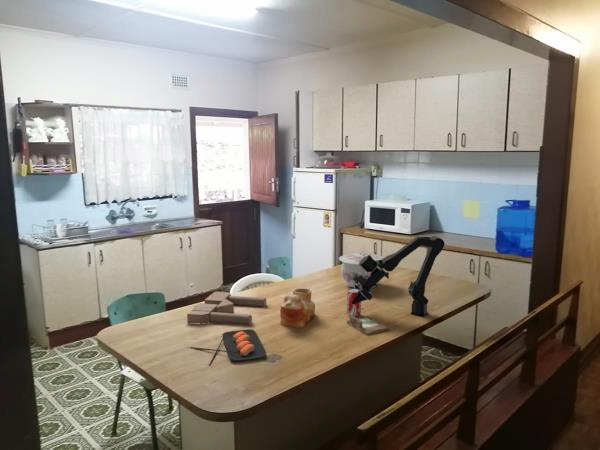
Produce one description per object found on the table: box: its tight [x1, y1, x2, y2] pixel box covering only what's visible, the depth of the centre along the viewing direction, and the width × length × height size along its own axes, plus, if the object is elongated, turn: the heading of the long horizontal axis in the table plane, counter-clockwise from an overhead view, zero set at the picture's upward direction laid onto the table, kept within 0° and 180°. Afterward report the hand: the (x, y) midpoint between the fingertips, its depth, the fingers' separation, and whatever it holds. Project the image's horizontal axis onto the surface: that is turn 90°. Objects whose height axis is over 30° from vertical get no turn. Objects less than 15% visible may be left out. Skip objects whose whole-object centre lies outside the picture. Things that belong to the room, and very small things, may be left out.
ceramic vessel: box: [279, 287, 316, 328], centre depth 219 cm, size 14×26×15 cm, turn 160°
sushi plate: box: [190, 329, 267, 367], centre depth 189 cm, size 29×30×4 cm
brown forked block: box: [186, 291, 267, 326], centre depth 231 cm, size 35×6×29 cm
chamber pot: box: [338, 251, 385, 289], centre depth 272 cm, size 28×28×21 cm
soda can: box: [346, 288, 362, 317], centre depth 225 cm, size 7×7×12 cm
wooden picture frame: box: [346, 315, 390, 336], centre depth 211 cm, size 16×12×4 cm
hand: (351, 301), depth 225 cm, fingers closed on soda can, 7 cm apart
